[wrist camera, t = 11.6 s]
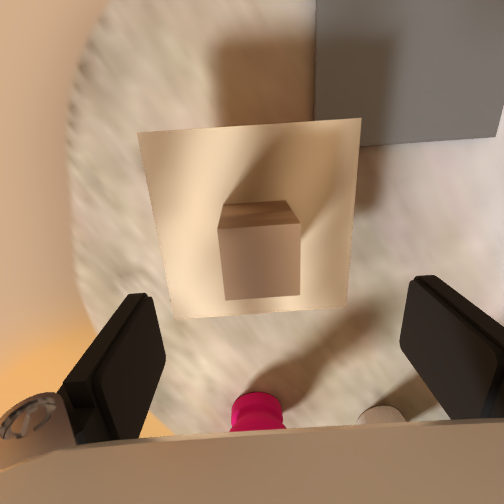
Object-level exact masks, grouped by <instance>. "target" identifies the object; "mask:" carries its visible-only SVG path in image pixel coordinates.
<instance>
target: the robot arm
mask: <svg viewBox="0 0 504 504" xmlns="http://www.w3.org/2000/svg"><path fill="white" fill-rule="evenodd" d="M399 342H400V347H401V350H402V351H403V353H404V354H405V355H406V357H407V358H408V360H409V361H410V362H411V364H412V365H413V367H414V368H415V370H416V371H417V372H418V374H419V375H420V377H421V378H422V379H423V381H424V382H425V384H426V385H427V386H428V388H429V389H430V391H431V392H432V393H433V395H434V396H435V398H436V399H437V400H438V402H439V403H440V405H441V406H442V407H443V409H444V410H445V412H446V413H447V414H448V416H449V417H450V419H451V420H439V421H419V422H399V423H380V424H361V425H343V426H325V427H308V428H290V429H273V430H256V431H240V432H224V433H208V434H192V435H176V436H163V437H151V438H139V435H140V432H141V430H142V427H143V424H144V421H145V419H146V416H147V413H148V410H149V407H150V405H151V402H152V399H153V396H154V394H155V391H156V388H157V385H158V382H159V380H160V377H161V374H162V371H163V368H164V366H165V361H166V355H165V350H164V346H163V341H162V337H161V333H160V328H159V324H158V320H157V315H156V311H155V307H154V302H153V299H152V297H148V296H147V294H146V293H136V294H128V295H127V297H126V298H125V299H124V301H123V302H122V303H121V305H120V306H119V307H118V309H117V310H116V311H115V313H114V314H113V315H112V317H111V318H110V320H109V321H108V322H107V324H106V325H105V326H104V328H103V329H102V330H101V332H100V333H99V334H98V336H97V337H96V338H95V340H94V341H93V343H92V344H91V345H90V346H89V348H88V349H87V350H86V352H85V353H84V354H83V356H82V357H81V358H80V360H79V361H78V362H77V364H76V365H75V367H74V368H73V370H72V371H71V372H70V373H69V375H68V376H67V378H66V379H65V380H64V381H63V385H62V386H61V387H60V389H59V390H58V391H57V393H54V392H45V393H40V394H36V395H34V396H32V397H29V398H27V399H25V400H23V401H22V402H20V403H18V404H16V405H15V406H13V407H12V408H11V409H10V410H8V411H7V412H6V413H5V414H4V415H3V416H2V417H1V418H0V504H504V327H503V326H502V325H500V324H499V323H498V322H496V321H495V320H494V319H492V318H491V317H490V316H488V315H487V314H486V313H484V312H483V311H482V310H480V309H479V308H478V307H477V306H475V305H474V304H473V303H471V302H470V301H469V300H467V299H466V298H465V297H463V296H462V295H461V294H459V293H458V292H457V291H455V290H454V289H453V288H451V287H450V286H449V285H447V284H446V283H445V282H443V281H442V280H441V279H439V278H438V277H437V276H435V275H425V276H416V277H415V278H414V280H412V281H410V283H409V287H408V293H407V299H406V305H405V311H404V317H403V323H402V328H401V334H400V341H399Z"/></svg>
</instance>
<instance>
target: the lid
mask: <svg viewBox="0 0 504 504" xmlns="http://www.w3.org/2000/svg"><path fill="white" fill-rule="evenodd" d="M361 120H362V118H353V119H338V120H323V121H308V122H292V123H277V124H262V125H247V126H232V127H217V128H202V129H186V130H171V131H156V132H141V133H137V136H138V141H139V146H140V151H141V156H142V160H143V165H144V170H145V175H146V180H147V185H148V190H149V195H150V200H151V205H152V210H153V215H154V220H155V224H156V229H157V234H158V239H159V244H160V249H161V254H162V259H163V264H164V269H165V274H166V279H167V284H168V289H169V293H170V298H171V303H172V308H173V313H174V318H175V319H188V318H202V317H215V316H229V315H242V314H256V313H270V312H283V311H297V310H311V309H324V308H338V307H346V303H347V291H348V278H349V266H350V254H351V242H352V230H353V217H354V205H355V193H356V181H357V169H358V156H359V144H360V132H361Z"/></svg>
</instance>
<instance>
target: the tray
mask: <svg viewBox="0 0 504 504" xmlns="http://www.w3.org/2000/svg"><path fill="white" fill-rule="evenodd" d="M503 105H504V0H316V26H315V76H314V121H323V120H338V119H353V118H362V120H361V132H360V144H359V146H373V145H387V144H401V143H416V142H430V141H445V140H459V139H474V138H488V137H496V133H497V129H498V125H499V121H500V117H501V113H502V109H503Z"/></svg>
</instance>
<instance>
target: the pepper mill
mask: <svg viewBox="0 0 504 504" xmlns="http://www.w3.org/2000/svg"><path fill="white" fill-rule="evenodd" d="M282 423H283V416H282V409H281V405H280V403H279V401H278V400H277V399H276V398H275V397H274V396H272V395H270V394H267V393H263V392H253V393H248V394H245V395H243V396H241V397H240V398H239V399H237V400H236V401H235V403H234V404H233V406H232V414H231V424H232V428H231V430H230V431H229V432H240V431H256V430H273V429H286V427H285V426H284V425H283V424H282Z"/></svg>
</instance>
